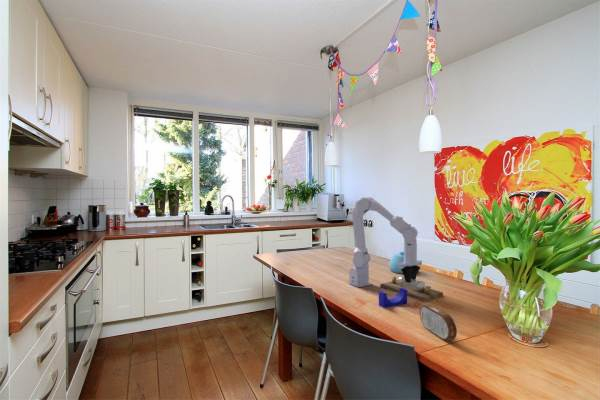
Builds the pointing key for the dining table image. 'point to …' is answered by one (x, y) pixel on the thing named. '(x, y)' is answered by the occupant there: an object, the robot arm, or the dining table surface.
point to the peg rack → (412, 291)
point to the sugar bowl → (396, 262)
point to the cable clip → (393, 299)
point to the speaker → (438, 322)
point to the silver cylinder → (412, 284)
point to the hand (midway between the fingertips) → (410, 281)
